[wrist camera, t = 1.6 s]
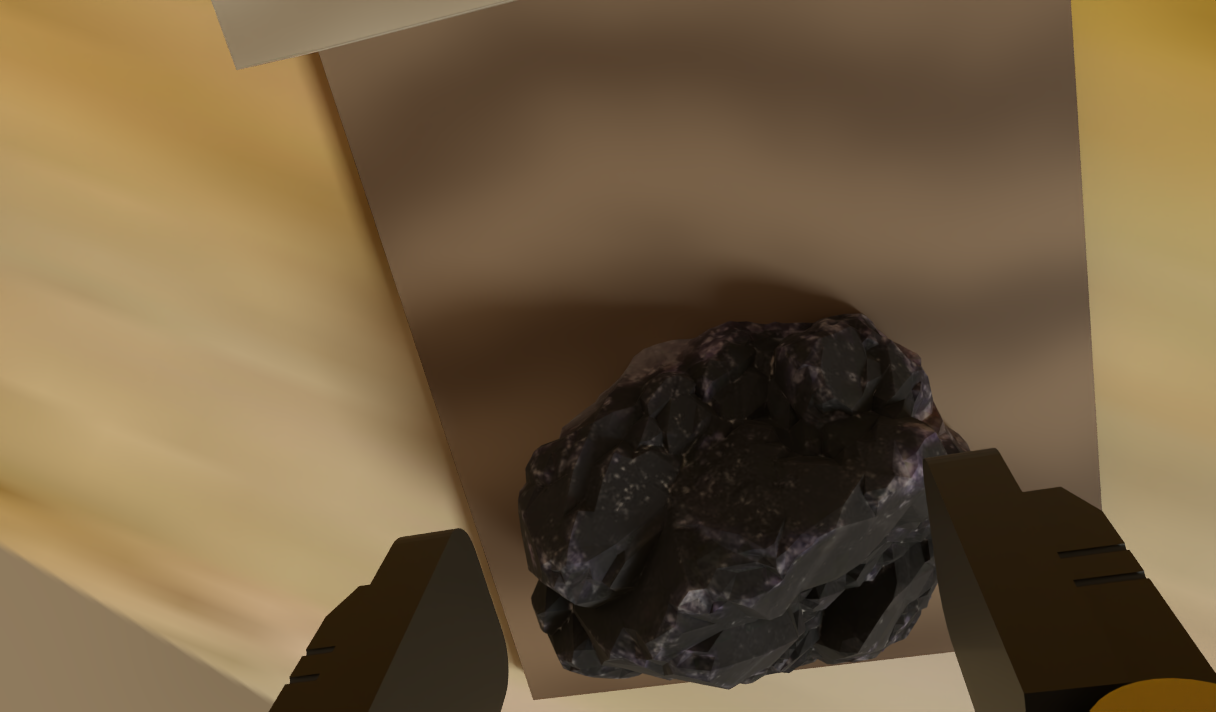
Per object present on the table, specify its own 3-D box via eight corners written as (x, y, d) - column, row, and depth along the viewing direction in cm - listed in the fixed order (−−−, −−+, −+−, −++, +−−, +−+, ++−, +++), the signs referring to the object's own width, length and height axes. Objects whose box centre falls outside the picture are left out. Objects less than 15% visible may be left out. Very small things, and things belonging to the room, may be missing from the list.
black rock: (1044, 487, 32) (1191, 654, 22) (741, 719, 35) (753, 950, 25) (770, 194, 30) (799, 236, 21) (481, 466, 33) (389, 610, 24)
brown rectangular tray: (1098, 614, 32) (1176, 748, 27) (538, 681, 36) (505, 810, 31) (1041, -248, 23) (1141, -312, 18) (302, -42, 27) (196, -42, 22)
